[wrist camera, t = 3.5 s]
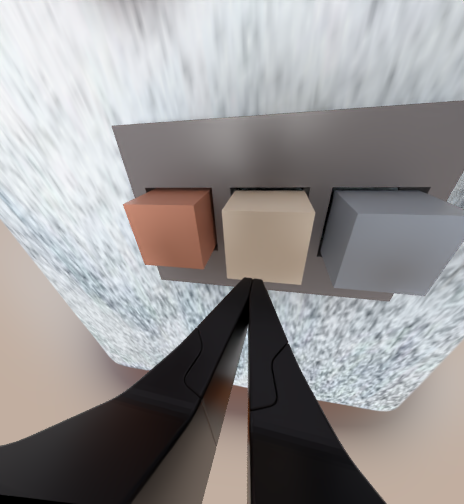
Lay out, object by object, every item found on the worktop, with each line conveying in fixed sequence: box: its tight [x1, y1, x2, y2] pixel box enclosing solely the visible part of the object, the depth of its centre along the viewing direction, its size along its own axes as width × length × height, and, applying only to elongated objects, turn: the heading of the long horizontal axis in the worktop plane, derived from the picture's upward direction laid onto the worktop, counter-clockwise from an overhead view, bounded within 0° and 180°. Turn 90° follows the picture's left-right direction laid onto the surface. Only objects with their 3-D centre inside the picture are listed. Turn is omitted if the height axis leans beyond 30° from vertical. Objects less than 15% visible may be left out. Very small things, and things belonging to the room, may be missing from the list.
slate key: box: [320, 190, 464, 296], centre depth 12 cm, size 5×5×4 cm
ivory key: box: [222, 190, 315, 285], centre depth 13 cm, size 5×5×4 cm
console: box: [112, 101, 464, 301], centre depth 16 cm, size 22×14×3 cm, turn 92°
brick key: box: [123, 188, 217, 269], centre depth 15 cm, size 5×5×4 cm
